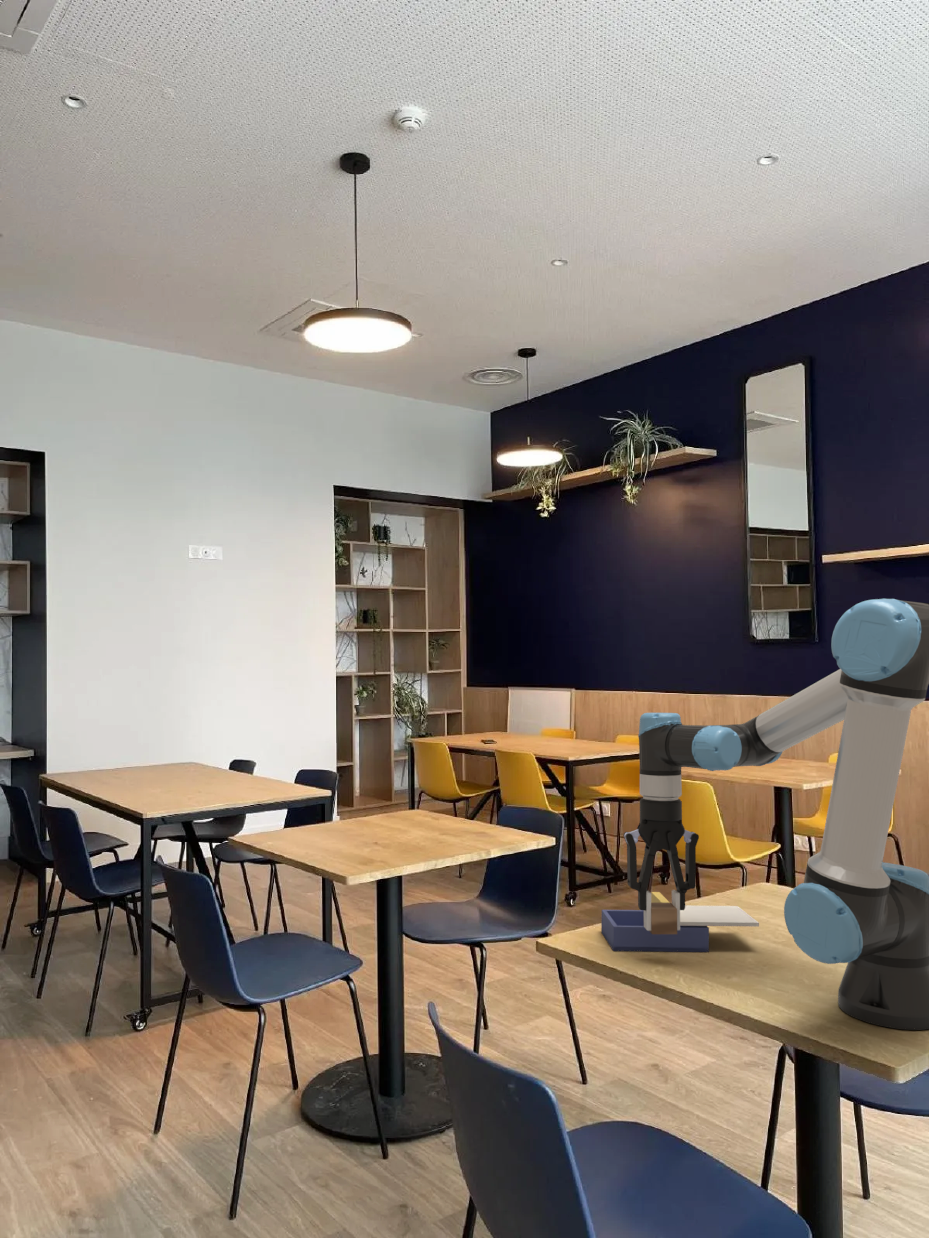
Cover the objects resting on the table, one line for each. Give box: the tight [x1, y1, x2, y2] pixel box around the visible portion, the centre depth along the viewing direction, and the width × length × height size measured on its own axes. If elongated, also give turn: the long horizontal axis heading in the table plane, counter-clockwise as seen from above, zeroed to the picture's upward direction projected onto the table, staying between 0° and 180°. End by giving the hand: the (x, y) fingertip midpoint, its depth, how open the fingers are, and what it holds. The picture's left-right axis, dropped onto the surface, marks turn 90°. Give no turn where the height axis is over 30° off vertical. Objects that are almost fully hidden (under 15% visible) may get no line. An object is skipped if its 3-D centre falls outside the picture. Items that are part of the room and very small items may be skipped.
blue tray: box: [600, 909, 710, 953], centre depth 181 cm, size 12×18×4 cm, turn 92°
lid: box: [650, 891, 760, 928], centre depth 182 cm, size 12×18×4 cm, turn 92°
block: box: [650, 902, 677, 934], centre depth 169 cm, size 4×4×4 cm
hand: (661, 928), depth 169 cm, fingers closed on block, 4 cm apart
